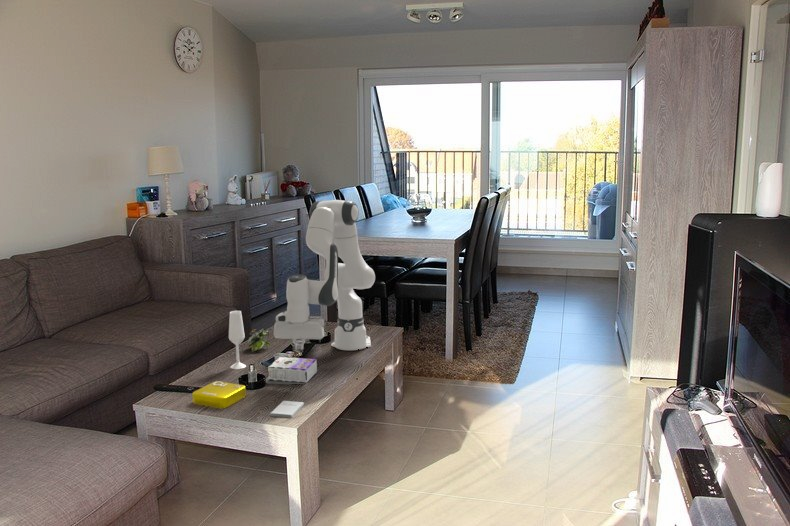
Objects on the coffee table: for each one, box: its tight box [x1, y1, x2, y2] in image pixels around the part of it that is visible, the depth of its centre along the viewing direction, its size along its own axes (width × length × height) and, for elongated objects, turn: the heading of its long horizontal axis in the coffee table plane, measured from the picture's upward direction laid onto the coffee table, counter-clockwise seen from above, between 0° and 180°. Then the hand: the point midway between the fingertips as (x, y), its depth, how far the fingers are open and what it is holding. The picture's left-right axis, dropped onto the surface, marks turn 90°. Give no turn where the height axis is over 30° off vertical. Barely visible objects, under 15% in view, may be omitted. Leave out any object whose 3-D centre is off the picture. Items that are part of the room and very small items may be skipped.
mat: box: [265, 376, 306, 386], centre depth 284 cm, size 16×17×1 cm
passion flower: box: [247, 328, 271, 353], centre depth 323 cm, size 11×11×12 cm
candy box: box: [267, 356, 318, 384], centre depth 284 cm, size 14×6×16 cm
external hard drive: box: [269, 400, 305, 419], centre depth 249 cm, size 2×8×12 cm
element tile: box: [191, 380, 247, 409], centre depth 260 cm, size 15×15×5 cm
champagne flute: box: [228, 310, 247, 370], centre depth 296 cm, size 7×7×24 cm
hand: (299, 349), depth 281 cm, fingers closed
